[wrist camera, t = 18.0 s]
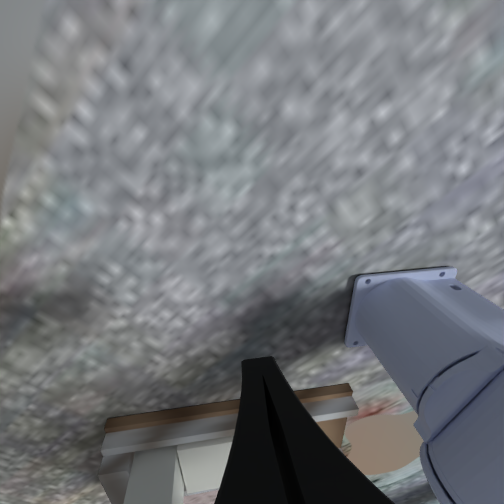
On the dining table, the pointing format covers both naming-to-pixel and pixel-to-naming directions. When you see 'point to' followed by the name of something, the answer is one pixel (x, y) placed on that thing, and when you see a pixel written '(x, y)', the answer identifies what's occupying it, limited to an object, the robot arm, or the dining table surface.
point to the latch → (204, 463)
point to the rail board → (203, 430)
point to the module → (155, 477)
